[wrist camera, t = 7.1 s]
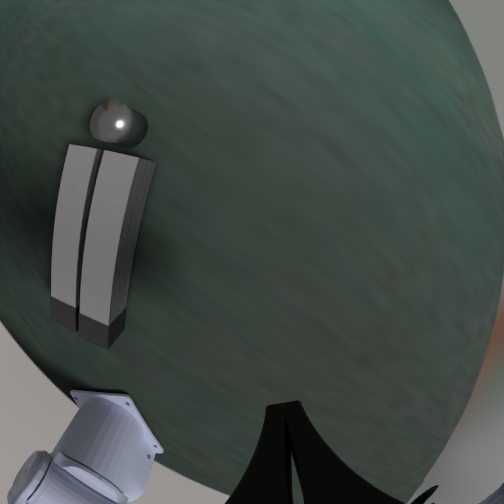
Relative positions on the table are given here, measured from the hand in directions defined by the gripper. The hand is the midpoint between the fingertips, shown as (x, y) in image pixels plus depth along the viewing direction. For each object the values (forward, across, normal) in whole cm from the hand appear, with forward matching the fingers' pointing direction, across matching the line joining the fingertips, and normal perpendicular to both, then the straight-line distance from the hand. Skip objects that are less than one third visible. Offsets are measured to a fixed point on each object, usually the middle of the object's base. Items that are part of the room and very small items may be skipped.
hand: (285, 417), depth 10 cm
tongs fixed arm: (+9, +11, -9) cm, 17 cm away
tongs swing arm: (+9, +9, -7) cm, 15 cm away
